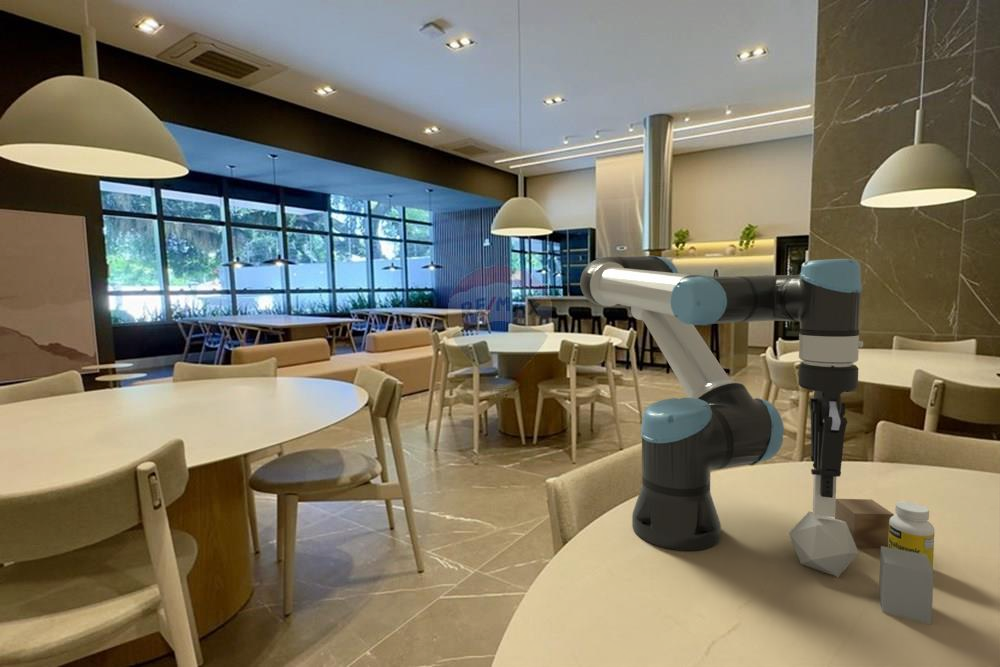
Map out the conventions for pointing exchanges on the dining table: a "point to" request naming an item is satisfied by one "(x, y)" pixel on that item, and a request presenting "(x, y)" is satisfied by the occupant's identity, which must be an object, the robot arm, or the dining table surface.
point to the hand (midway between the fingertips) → (823, 513)
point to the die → (823, 543)
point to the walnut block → (865, 521)
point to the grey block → (906, 584)
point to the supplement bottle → (912, 529)
